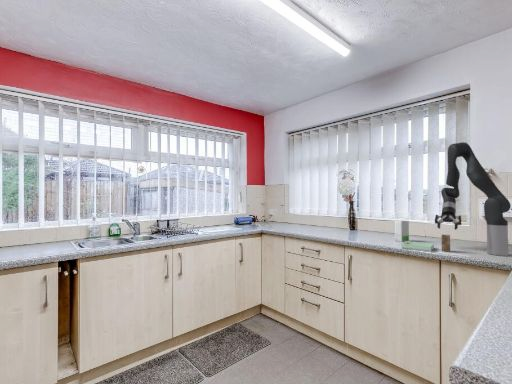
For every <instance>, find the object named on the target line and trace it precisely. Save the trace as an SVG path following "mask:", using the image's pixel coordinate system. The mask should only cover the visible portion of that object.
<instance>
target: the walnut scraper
mask: <svg viewBox="0 0 512 384" xmlns="http://www.w3.org/2000/svg"><path fill="white" fill-rule="evenodd" d="M443 251H444V252H445V253H451V235H450V234H441V252H443ZM444 252H443V253H444Z"/></svg>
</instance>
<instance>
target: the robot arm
mask: <svg viewBox="0 0 512 384" xmlns="http://www.w3.org/2000/svg"><path fill="white" fill-rule="evenodd" d="M461 157H462V158H463V159H464V162H465V163H466V170H465V171H466V176H467V178H468V179H469V181H470V183H472V185H473V186H474V187H475V188H477V189H478V190H480V191H481V192H482V193H483V194H484V195H485V196H486V197H487V198H486V200H485V201H484V203H483V212H484V213H483V215H484V219H485V220H484V221H486V254H488V255H493V256H500V257H501V256H502V257H505V256H506V257H509V255H510V254H509V252H510V250H509V226H508V225H509V224H508V220H507V219H506V218H505V217H504V214H505V213H507V212H509V211H510V209H511V202H510V200H509V199H508V198H507V197H506V196H505V195H504V194H503V193H502V191H501V190H500V189H499V188H498V186H496V184H495V183H494V181H493V180H492V178H491V176H490V175H489V174H488V172H487V171H486V170H485V169H484V168H485V167H483V166H482V164H481V163H480V161H479V160H478V158H477V157H476V155H475V153H474V151H473V149H472V148H471V145H469V144H468V143H467V142H458V143H457V142H456V143H452V144H450V145H449V146H448V147H447V175H446V180H445V181H446V182H445V184H446V185H447V186H448V187H443V188H442V189H441V192H440V193H441V197H442V201H443V202H442V206H441V207H442V208H441V215H438V214H436V215H435V217H434V224H435V225H436V224H437V226H436V227H437V228H438V229H439V230H440V229H441V224H444V223H452V224H453V225H454V230H458V226H461V225H462V216H461V215H458V216H456V211H457V208H456V207H457V206H456V203H457V200H456V199H458V198H459V197H460V189H459V183H460V182H459V181H460V176H461V175H460V174H461V173H460V170H459V168H458V166H457V159H458V158H461ZM456 219H457V220H456Z"/></svg>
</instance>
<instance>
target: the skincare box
mask: <svg viewBox="0 0 512 384" xmlns="http://www.w3.org/2000/svg"><path fill="white" fill-rule="evenodd" d="M409 223H410V222H409V220H399V219H398V220H394V241H395V242H401V243H402V242H403V243H404V242H406V241H410V229H409V228H410V227H409V225H410V224H409Z"/></svg>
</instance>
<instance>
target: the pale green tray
mask: <svg viewBox="0 0 512 384" xmlns="http://www.w3.org/2000/svg"><path fill="white" fill-rule="evenodd" d="M401 249H402V250H403V249H404V250H411V251H412V250H413V251H421V252H429V251H430V253H431V252H432V251H433V250H434V249H435V243H430V242H419V241H410V240H409V241H406V242H403V243H402V242H401Z"/></svg>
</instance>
